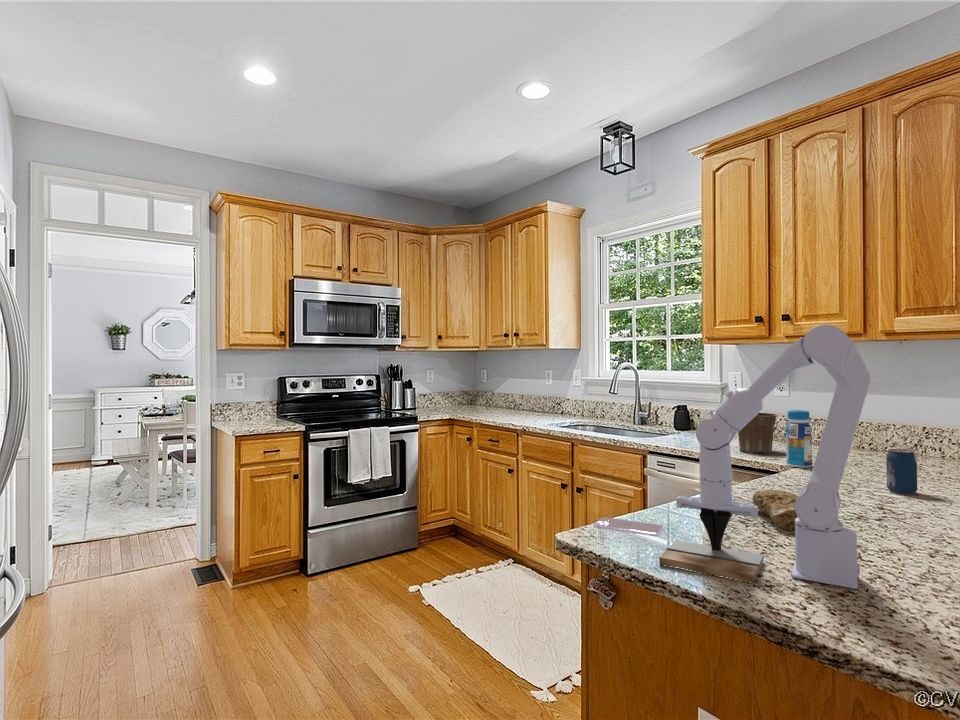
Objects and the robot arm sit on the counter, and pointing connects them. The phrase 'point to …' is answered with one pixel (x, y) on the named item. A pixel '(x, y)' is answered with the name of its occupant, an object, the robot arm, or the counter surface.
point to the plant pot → (758, 434)
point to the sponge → (777, 506)
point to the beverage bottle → (799, 439)
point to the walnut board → (710, 564)
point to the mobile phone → (629, 526)
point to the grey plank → (719, 552)
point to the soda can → (901, 471)
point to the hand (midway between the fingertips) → (716, 548)
